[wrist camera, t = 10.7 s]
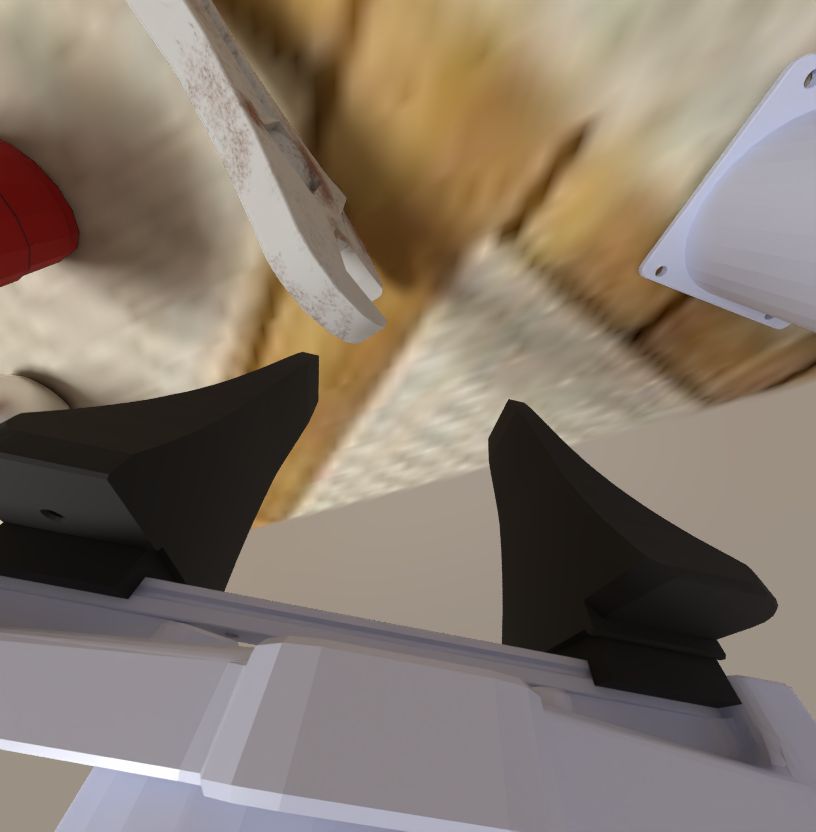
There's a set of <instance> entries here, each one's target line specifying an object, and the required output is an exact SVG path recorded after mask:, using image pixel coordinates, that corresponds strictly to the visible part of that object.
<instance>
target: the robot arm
mask: <svg viewBox="0 0 816 832" xmlns="http://www.w3.org/2000/svg"><path fill="white" fill-rule="evenodd" d="M810 73H812V74H813V75H812V80H811V81H810V83H809V85H808V86H807V87H806V88H805V87H804V81H805V79H806V77H807V76H808V75H809V74H810ZM661 266H663V269H662V271H661V272H660V273H659V274H657V275H655V272H656V270H657V269H658V268H659V267H661ZM638 272H639V275H641V276H642V277H644V278H647V279H649V280H652V281H654V282H657V283H660V284H662V285H665V286H667V287H670V288H672V289H675V290H677V291H680V292H683V293H685V294H688V295H690V296H693V297H695V298H698V299H700V300H703V301H706V302H708V303H711V304H713V305H716V306H718V307H721V308H723V309H726V310H729V311H731V312H734V313H736V314H739V315H741V316H744V317H746V318H749V319H752V320H754V321H757V322H759V323H762V324H764V325H767V326H769V327H772V328H775V329H783V328H786V327H788V326H789V325H791V324H794V325H796V326H799V327H802V328H804V329H807V330H810V331H812V332H815V333H816V53H810V54H807V55H804V56H802V57H799V58H796V59H795V60H794V61H792V62H791V63H790V64H789V65H788V66H787V67H786V68H785V69H784V70H783V71H782V73H781V74H780V76H779V77H778V78H777V80H776V81H775V82H774V84H773V85H772V86H771V88H770V89H769V91H768V92H767V93H766V95H765V96H764V97H763V99H762V100H761V101H760V103H759V104H758V105H757V107H756V108H755V110H754V111H753V112H752V114H751V115H750V116H749V118H748V119H747V120H746V122H745V123H744V125H743V126H742V127H741V129H740V130H739V131H738V133H737V134H736V135H735V137H734V138H733V139H732V141H731V142H730V144H729V145H728V146H727V148H726V149H725V150H724V152H723V153H722V154H721V156H720V157H719V159H718V160H717V161H716V163H715V164H714V165H713V167H712V168H711V169H710V171H709V172H708V173H707V175H706V176H705V178H704V179H703V180H702V182H701V183H700V184H699V186H698V187H697V188H696V190H695V191H694V193H693V194H692V195H691V197H690V198H689V199H688V201H687V202H686V203H685V205H684V206H683V207H682V209H681V210H680V212H679V213H678V214H677V216H676V217H675V218H674V220H673V221H672V222H671V224H670V225H669V226H668V228H667V229H666V231H665V232H664V233H663V235H662V236H661V237H660V239H659V240H658V241H657V243H656V244H655V246H654V247H653V248H652V250H651V251H650V252H649V254H648V255H647V256H646V258H645V259H644V260H643V262H642V263H641V265H640V267H639V271H638ZM766 314H767V316H765V315H766ZM318 386H319V356H318V355H313V354H309V353H305V352H301V353H297V354H295V355H292V356H290V357H287V358H285V359H282V360H280V361H278V362H275V363H273V364H270V365H268V366H266V367H263V368H261V369H258V370H256V371H253V372H250V373H247V374H245V375H242V376H239V377H236V378H234V379H231V380H228V381H225V382H222V383H218V384H215V385H211V386H208V387H204V388H200V389H196V390H192V391H188V392H183V393H178V394H173V395H168V396H164V397H159V398H154V399H148V400H142V401H135V402H129V403H121V404H114V405H106V406H97V407H88V408H77V409H65V410H53V411H41V412H27V413H20V414H18V415H15V416H13V417H12V418H10V419H8V420H6V421H4V422H2V423H0V520H1V521H3V523H2V524H1V525H0V749H2V750H8V751H13V752H20V753H24V754H30V755H36V756H42V757H47V758H52V759H58V760H64V761H69V762H74V763H80V764H86V765H91V766H94V768H93V769H92V771H91V773H90V774H89V776H88V778H87V779H86V781H85V782H84V784H83V786H82V787H81V789H80V791H79V792H78V794H77V796H76V798H75V799H74V801H73V802H72V804H71V805H70V807H69V809H68V810H67V812H66V814H65V815H64V817H63V818H62V820H61V822H60V823H59V825H58V827H57V829H56V830H55V832H816V722H815V721H814V719H813V718H812V716H811V715H810V714H809V712H808V711H807V709H806V708H805V706H804V705H803V703H802V702H801V701H800V699H799V698H798V697H797V695H796V694H795V692H794V691H793V689H792V688H791V687H790V686H788V685H786V684H784V683H779V682H773V681H768V680H763V679H758V678H753V677H747V676H738V675H734V676H726V675H725V673H724V672H723V670H722V668H721V666H720V665H719V663H718V661H717V660H723V659H726V654H725V653H724V651H723V649H722V648H721V646H720V644H719V643H718V641H717V639H720V638H722V637H725V636H728V635H731V634H734V633H737V632H740V631H743V630H746V629H749V628H751V627H754V626H756V625H759V624H761V623H764V622H765V621H767V620H768V619H770V618H771V617H772V616H773V615H774V614H775V612H776V610H777V607H778V604H777V601H776V598H774V596H773V595H772V594H771V592H770V591H769V590H768V589H767V587H766V586H765V585H764V584H763V583H762V581H761V580H760V579H759V578H758V577H757V575H756V574H755V573H754V572H753V571H752V570H751V569H750V568H749V567H748V566H747V565H746V564H744V563H742V562H740V561H738V560H736V559H734V558H733V557H731V556H729V555H727V554H725V553H723V552H721V551H719V550H718V549H716V548H714V547H712V546H710V545H709V544H707V543H705V542H703V541H701V540H699V539H698V538H696V537H694V536H692V535H691V534H689V533H687V532H685V531H684V530H682V529H680V528H679V527H677V526H675V525H674V524H672V523H670V522H669V521H667V520H665V519H664V518H662V517H661V516H659V515H658V514H656V513H654V512H653V511H651V510H650V509H648V508H647V507H645V506H644V505H642V504H641V503H639V502H638V501H636V500H635V499H634V498H632V497H631V496H629V495H628V494H626V493H625V492H623V491H622V490H621V489H619V488H618V487H616V486H615V485H614V484H613V483H611V482H610V481H609V480H608V479H606V478H605V477H604V476H602V475H601V474H600V473H599V472H597V471H596V470H595V469H594V468H592V467H591V466H590V465H589V464H588V463H586V462H585V461H584V460H583V459H582V458H581V457H580V456H579V455H578V454H577V453H576V452H574V451H573V450H572V449H571V448H570V447H569V446H568V445H567V444H566V443H565V442H564V441H563V440H562V439H561V438H560V437H559V436H558V435H557V434H556V433H555V432H554V431H553V430H552V429H551V428H550V427H549V426H548V425H547V424H546V423H545V422H544V421H543V420H542V419H541V418H540V417H539V416H538V415H537V414H536V413H535V412H534V411H533V410H532V409H531V408H530V407H529V406H528V405H526V404H525V403H523V402H519V401H514V400H510V399H508V401H507V403H506V405H505V407H504V409H503V411H502V413H501V415H500V417H499V419H498V421H497V423H496V425H495V427H494V429H493V431H492V432H491V434H490V436H489V438H488V451H489V464H490V470H491V476H492V482H493V487H494V493H495V498H496V503H497V509H498V516H499V523H500V536H501V552H502V583H503V584H502V585H503V586H502V587H503V620H502V644H497V643H492V642H487V641H482V640H476V639H471V638H466V637H460V636H455V635H449V634H445V633H439V632H434V631H429V630H423V629H418V628H413V627H407V626H402V625H396V624H391V623H386V622H380V621H375V620H370V619H365V618H360V617H355V616H349V615H344V614H338V613H333V612H327V611H323V610H318V609H312V608H307V607H302V606H296V605H291V604H285V603H281V602H274V601H270V600H265V599H259V598H254V597H249V596H243V595H238V594H233V593H227V592H224V591H225V588H226V586H227V583H228V581H229V578H230V576H231V573H232V571H233V568H234V566H235V563H236V560H237V558H238V556H239V554H240V551H241V549H242V547H243V544H244V542H245V540H246V537H247V535H248V533H249V530H250V528H251V526H252V524H253V521H254V519H255V517H256V515H257V513H258V511H259V508H260V506H261V504H262V502H263V500H264V498H265V496H266V494H267V492H268V490H269V488H270V486H271V483H272V481H273V479H274V477H275V476H276V474H277V472H278V470H279V469H280V467H281V465H282V464H283V462H284V461H285V459H286V457H287V456H288V454H289V453H290V451H291V450H292V448H293V447H294V445H295V443H296V442H297V440H298V439H299V437H300V436H301V434H302V432H303V431H304V429H305V428H306V426H307V424H308V423H309V421H310V419H311V416H312V414H313V412H314V410H315V407H316V405H317V403H318ZM238 642H243V643H248V644H254V645H257V646H256V647H242V646H239V645H238Z"/></svg>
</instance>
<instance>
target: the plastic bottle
mask: <svg viewBox="0 0 816 832" xmlns="http://www.w3.org/2000/svg"><path fill="white" fill-rule="evenodd" d="M65 409H70V408H69V406H68V405H67V404H66V403H65V402H64V401H63V400H62V399H61V398H60V397H59V396H58V395H56V394H55V393H54V392H53V391H51V390H50V389H48V388H47V387H45V386H43V385H41V384H40V383H38V382H36V381H33V380H31V379H29V378H26V377H23V376H18V375H0V423H2V422H4V421H6V420H8V419H10V418H12V417H13V416H15V415H18V414H20V413H27V412H41V411H53V410H65Z"/></svg>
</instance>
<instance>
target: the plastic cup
mask: <svg viewBox="0 0 816 832" xmlns="http://www.w3.org/2000/svg"><path fill="white" fill-rule="evenodd" d="M78 236H79V231H78V228H77V225H76V222H75V218H74V215H73V212H72V210H71V208H70V207H69V205H68V203H67V202H66V200H65V198H64V197H63V195H62V194H61V192H60V190H59V189H58V187H57V186H56V185H55V184H54V183H53V182H52V180H51V179H50V178H49V177H48V176H47V175H46V174H45V173H44V172H43V171H42V169H41V168H40V167H39V166H38V165H37V164H36V163H35V162H34V161H32V160H31V159H30V158H28V157H27V156H26V155H24V154H23V153H22V152H20V151H19V150H18V149H16V148H15V147H13V146H12V145H11V144H8V143H6V142H4V141H1V140H0V287H2V286H5V285H7V284H10V283H13V282H15V281H18V280H19V279H20V278H21V277H22V276H24V275H27V274H29V273H32V272H34V271H37V270H40V269H42V268H45V267H47V266H50V265H53V264H55V263H58V262H60V261H61V260H62V259H63V258H65V257H67V256H69V255H70V254H71V253H72V252H73V251H74V250H75V249H76V248H77V245H78Z"/></svg>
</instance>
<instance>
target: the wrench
mask: <svg viewBox="0 0 816 832" xmlns="http://www.w3.org/2000/svg"><path fill="white" fill-rule="evenodd" d="M126 2H127V3H128V5H129V6H130V8H131V9H132V10H133V12H134V13H135V15H136V16H137V18H138V19H139V21H140V22H141V24H142V25H143V27H144V28H145V29H146V31H147V32H148V34H149V35H150V37H151V38H152V40H153V41H154V43H155V44H156V46H157V47H158V48H159V50H160V51H161V53H162V54H163V56H164V57H165V59H166V60H167V62H168V63H169V65H170V66H171V67H172V69H173V70H174V72H175V73H176V75H177V76H178V78H179V80H180V82H181V84H182V86H183V88H184V90H185V92H186V93H187V95H188V97H189V99H190V101H191V103H192V105H193V107H194V109H195V110H196V112H197V114H198V116H199V118H200V120H201V122H202V124H203V126H204V128H205V129H206V131H207V133H208V135H209V137H210V139H211V141H212V143H213V145H214V146H215V148H216V150H217V152H218V154H219V156H220V158H221V160H222V162H223V164H224V165H225V167H226V169H227V171H228V174H229V176H230V178H231V180H232V183H233V185H234V187H235V189H236V192H237V194H238V196H239V198H240V201H241V203H242V205H243V207H244V210H245V212H246V214H247V216H248V219H249V221H250V223H251V225H252V227H253V230H254V232H255V235H256V237H257V239H258V242H259V244H260V247H261V249H262V251H263V254H264V256H265V258H266V260H267V261H268V263H269V265H270V266H271V268H272V269H273V271H274V272H275V274H276V275H277V277H278V279H279V280H280V282H281V283H282V284H283V286H284V287H285V288H286V289H287V290H288V292H289V293H290V294H291V295H292V297H293V298H294V299H295V300H296V301H297V303H298V304H299V305H300V306H301V308H302V309H303V310H304V311H305V312H306V313H307V314H308V315H309V316H311V317H312V318H313V319H314V320H315V321H317V322H318V323H319V324H320V325H321V326H323V327H324V328H325V329H326V330H327V331H328V332H330V333H331V334H333V335H334V336H336V337H338V338H340V339H342V340H344V341H346V342H348V343H355V344H359V343H361V342H362V341H364V340H365V339H367V338H369V337H370V336H372V335H373V334H375V333H377V332H378V331H380V330H382V329H383V328H385V326H386V322H387V320H386V319H385V318H384V316H383V315H382V314H381V313H380V311H379V310H378V309H377V308H376V306H375V305H374V304H373V303H372V302H371V301H374V300H375V299H376V298H378V297H379V296H381V295H382V283H381V280H380V278H379V276H378V274H377V272H376V269H375V267H374V265H373V263H372V261H371V259H370V257H369V255H368V253H367V251H366V249H365V247H364V245H363V243H362V241H361V240H360V238H359V236H358V234H357V233H356V231H355V229H354V228H353V226H352V224H351V222H350V221H349V219H348V217H347V216H346V214H345V212H344V211H343V208H344V205H345V203H346V200H347V198H346V197H345V195H344V194H343V193H342V192H341V191H340V189H339V188H338V187H337V186H336V185H335V184H334V183H333V181H332V180H331V179H330V178H329V177H328V176H327V175H326V173H325V172H324V171H323V169H322V168H321V166H320V165H319V164H318V162H317V161H316V160H315V158H314V157H313V155H312V154H311V153H310V151H309V150H308V149H307V147H306V146H305V144H304V143H303V142H302V140H301V139H300V137H299V136H298V135H297V133H296V132H295V131H294V129H293V128H292V126H291V125H290V124H289V122H288V121H287V119H286V118H285V116H284V115H283V113H282V112H281V111H280V109H279V108H278V106H277V105H276V103H275V102H274V100H273V99H272V97H271V96H270V94H269V93H268V91H267V90H266V88H265V87H264V85H263V84H262V82H261V81H260V79H259V78H258V76H257V75H256V73H255V72H254V70H253V69H252V67H251V65H250V64H249V62H248V60H247V59H246V57H245V55H244V54H243V52H242V50H241V49H240V47H239V45H238V44H237V42H236V40H235V39H234V37H233V35H232V34H231V32H230V30H229V29H228V27H227V25H226V24H225V22H224V20H223V19H222V17H221V15H220V14H219V12H218V10H217V9H216V7H215V5H214V4H213V2H212V0H126Z"/></svg>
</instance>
